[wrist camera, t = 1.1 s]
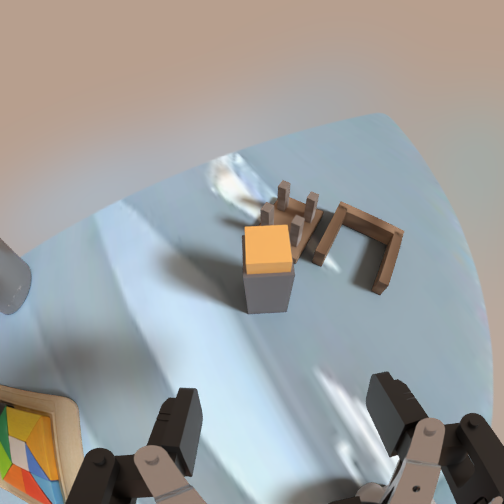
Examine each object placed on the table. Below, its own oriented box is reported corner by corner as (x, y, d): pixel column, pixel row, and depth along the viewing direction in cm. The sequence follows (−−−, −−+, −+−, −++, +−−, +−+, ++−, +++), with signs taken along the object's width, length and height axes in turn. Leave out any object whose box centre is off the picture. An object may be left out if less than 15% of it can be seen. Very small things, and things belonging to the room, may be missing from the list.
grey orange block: (248, 314, 29) (241, 267, 20) (247, 279, 31) (240, 223, 22) (286, 311, 29) (296, 264, 20) (283, 277, 31) (290, 221, 22)
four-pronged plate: (250, 242, 33) (248, 215, 29) (281, 199, 37) (282, 171, 33) (295, 264, 32) (300, 238, 27) (322, 216, 35) (328, 189, 31)
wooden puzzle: (-7, 383, 23) (-22, 377, 20) (81, 399, 24) (63, 395, 21) (5, 487, 14) (-11, 487, 11) (102, 528, 14) (87, 536, 12)
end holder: (311, 262, 32) (315, 250, 30) (336, 214, 35) (340, 201, 33) (380, 295, 29) (388, 285, 27) (396, 242, 33) (404, 231, 31)
